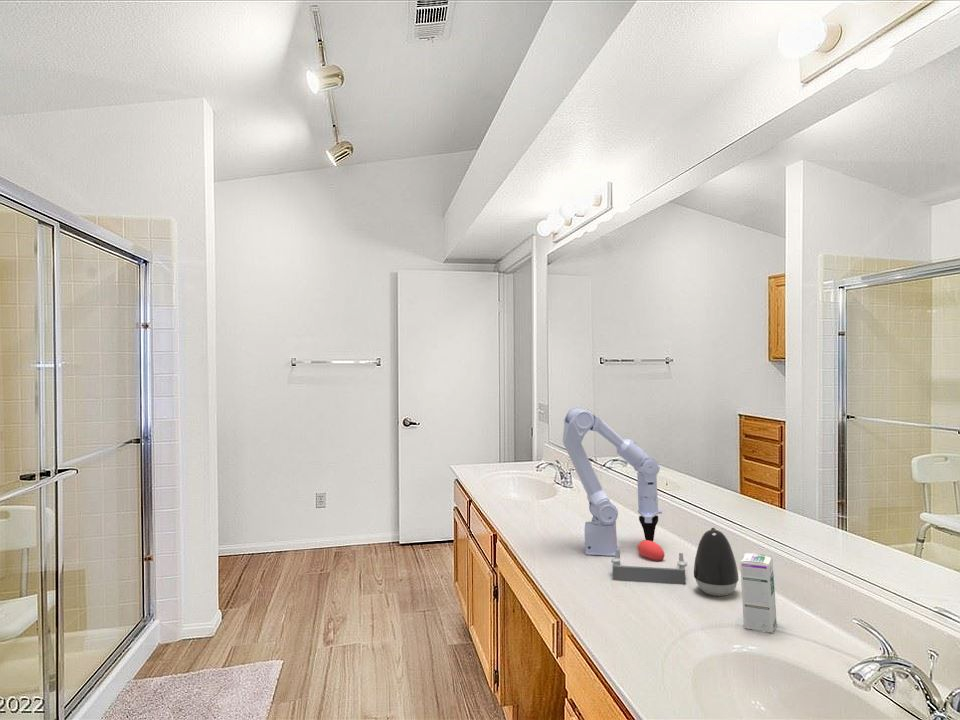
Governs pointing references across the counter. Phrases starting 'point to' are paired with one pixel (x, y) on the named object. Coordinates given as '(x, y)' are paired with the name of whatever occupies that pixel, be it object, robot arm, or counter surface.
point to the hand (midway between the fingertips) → (649, 540)
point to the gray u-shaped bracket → (649, 572)
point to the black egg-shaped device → (715, 564)
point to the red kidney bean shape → (651, 550)
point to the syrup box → (758, 592)
